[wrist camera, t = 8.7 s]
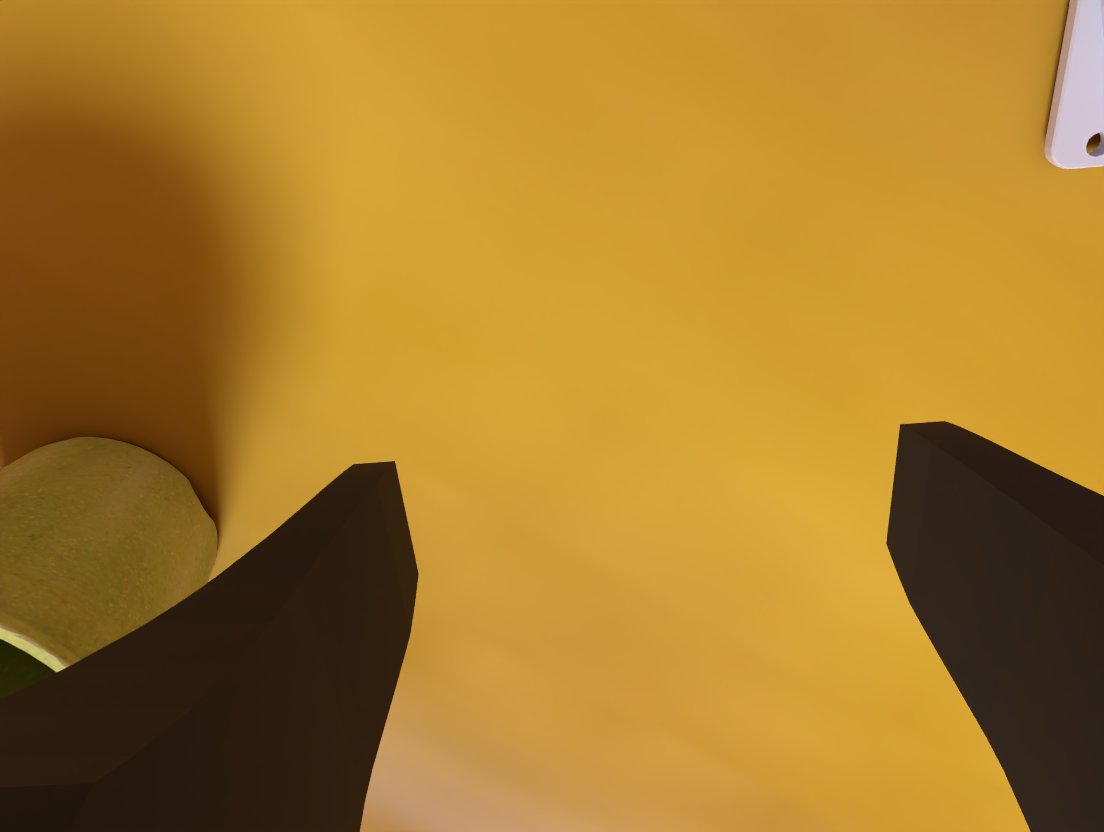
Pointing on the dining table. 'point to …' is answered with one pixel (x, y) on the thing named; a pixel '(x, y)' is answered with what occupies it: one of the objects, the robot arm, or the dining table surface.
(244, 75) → the dining table surface
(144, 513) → the plant pot
